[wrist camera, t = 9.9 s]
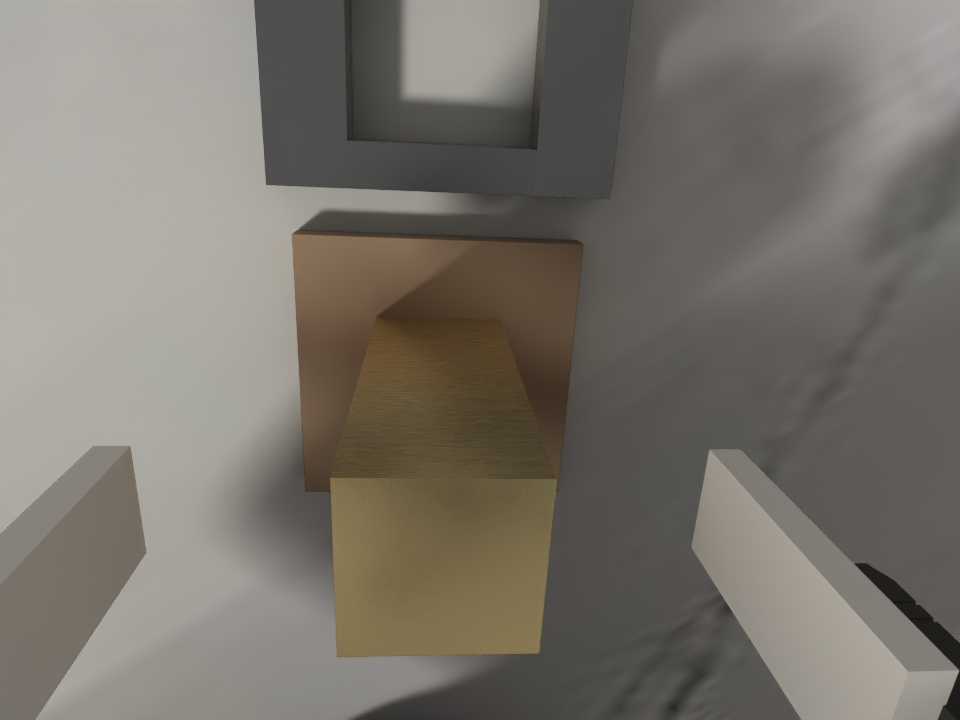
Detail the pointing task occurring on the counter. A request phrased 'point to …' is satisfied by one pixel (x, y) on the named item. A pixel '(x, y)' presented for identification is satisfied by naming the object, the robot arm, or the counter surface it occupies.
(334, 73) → the grey flat slotted block
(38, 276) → the counter surface
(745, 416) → the counter surface
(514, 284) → the walnut pad
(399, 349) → the square wooden peg
